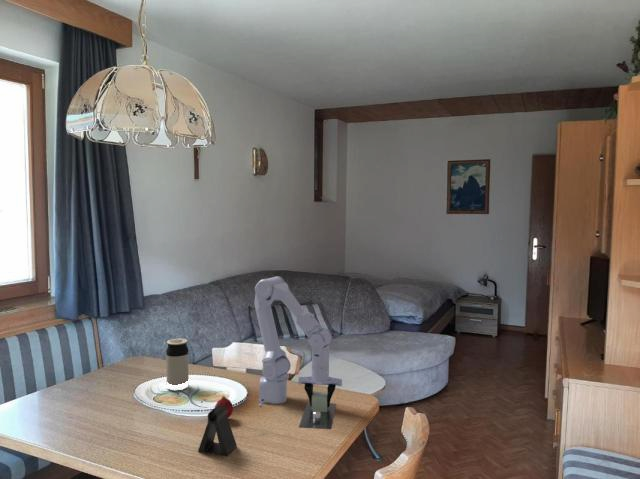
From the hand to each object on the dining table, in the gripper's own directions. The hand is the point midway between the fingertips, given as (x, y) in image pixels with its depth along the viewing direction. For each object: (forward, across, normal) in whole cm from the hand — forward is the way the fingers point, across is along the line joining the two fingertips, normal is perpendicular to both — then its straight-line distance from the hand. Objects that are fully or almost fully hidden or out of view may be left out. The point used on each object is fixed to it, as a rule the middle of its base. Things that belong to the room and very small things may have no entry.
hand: (320, 405), depth 165 cm
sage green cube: (+1, 0, 0) cm, 1 cm away
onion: (+2, -30, -10) cm, 32 cm away
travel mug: (+2, -56, +16) cm, 58 cm away
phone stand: (+2, -26, -29) cm, 39 cm away
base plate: (+2, 0, -5) cm, 5 cm away
